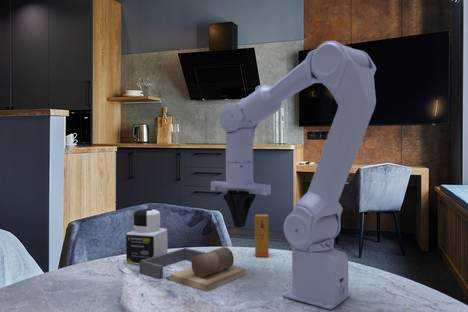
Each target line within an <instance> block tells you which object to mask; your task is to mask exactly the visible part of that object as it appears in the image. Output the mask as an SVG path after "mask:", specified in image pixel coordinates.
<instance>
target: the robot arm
mask: <svg viewBox="0 0 468 312" xmlns="http://www.w3.org/2000/svg"><path fill="white" fill-rule="evenodd" d="M376 71H377V67H376V65H375V64H374V61H373V60H372V58H371V57H370V55H369V54H368V53H367V52H365V51H364V50H361V49H356V48H352V47H351V46H347V45H343V44H342V43H340V42H338V41H335V40H327V41H324V42H323V43H320V44H319V46H317V47H316V49H313V50H311V51H309V52H308V53H307V55H306V57H305V59H304V60H302V62H301V63H299V64H298V65H297V66H295V67H294V68H293V69H292V70H290V71H289V72H288V73H287V74H286V75H284V76H283V77H282V78H280V79H279V80H278V81H277V82H276V83H274V84H273V85H272V86H270V85H268V84H265V85H264V84H263V85H258V86H256V87H255V88H254V89H255V91H253V92H251V94H249V95H248V96H246V97H242V98H241V99H240V100H239V102H237V103H226V105H225V106H224V107H223V108H222V109H221V111H220V114H219V124H220V127H221V129H222V131H225V181H222V180H214V181H210V191H215V192H217V191H220V192H226V193H225V194H223V197H222V198H223V199H224V201H225V203H226V205H227V206H228V209H229V211H230V214H231V218H232V221H233V225H234V228H239V229H240V228H244V227H246V222H247V219H248V214H249V211H250V208H251V207H252V205H253V202H254V201H255V198H256V195H261V196H269V195H271V194H272V185H271V184H265V183H257V182H254V139H255V136H256V134H255V133H256V130H257V128H258V126H259V123H261V122H263V121H264V120H265V119H267V118H269V117H271V116H272V115H274V114H275V113H277V112H279V110H281V108H282V102H283V101H285V100H287V99H288V98H291V97H292V96H293V95H295V94H298V93H299V92H301V91H302V90H304V89H306V88H308V87H310V86H312V85H314V84H323V86H324V87H326V88H327V89H328V90H329V91H330V92H331V96H332V97H333V99H334V100H335V102H336V104H337V110H336V113H335V116H334V118H333V121H332V124H331V126H330V129H329V131H328V135H327V138H326V140H325V143H324V146H323V149H322V152H321V154H320V157H319V159H318V162H317V165H316V168H315V171H314V174H313V176H312V179H311V182H310V185H309V186H308V190H307V192H306V193H305V194H304V195H303V196H301V198H299V199H298V201H297V202H296V203H295V205H294V208H293V210H292V211H291V212H290V213H289V214H288V215H287V216H286V217H285V220H284V221H283V234H284V236H285V239H286V241H287V243H288V244H289V246H290V248H291V254H292V255H291V256H292V257H291V259H292V261H291V262H292V263H291V264H292V265H291V269H292V270H291V273H292V274H291V275H292V276H291V277H292V278H291V281H292V283H291V288H290V289H288V290H286V291H285V292H283V293H282V296H283V297H284V298H287V299H290V300H291V299H292V300H294V301H298V302H302V303H305V304H309V305H313V306H317V307H321V308H323V309H328V310H333V309H334V308H335V307H337V306H338V305H340V304H341V303H343V302H344V300H346V299H347V298H348V297H350V296H351V293H350V292H349V259H348V255H347V253H345V252H344V251H341V250H337V249H336V248H334V244H335V238H337V237H338V235H339V234H340V232H341V216H342V214H343V213H342V212H343V210H344V209H343V205H341V204H340V202H339V200H340V198H341V195H342V193H343V190H344V187H345V185H346V183H347V181H348V180H347V179H348V178H349V175H350V173H351V170H352V167H353V165H354V162H355V160H356V157H357V155H358V152H359V149H360V146H361V144H362V142H363V140H364V136H365V133H366V131H367V129H368V126H369V124H370V121H371V118H372V115H373V114H374V111H375V107H376V104H377V97H376V89H375V88H376V87H375V77H374V76H375V73H376Z"/></svg>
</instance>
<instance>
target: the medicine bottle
mask: <svg viewBox="0 0 468 312" xmlns="http://www.w3.org/2000/svg"><path fill="white" fill-rule="evenodd" d="M133 229H134V230H131V231H128V232H126V234H125V237H126V238H125V239H126V241H125V242H126V244H125V246H126V250H125V251H126V256H125V257H126V263H127V264H129V265H130V264H131V265H139V261H141V260H144V259H148V258H151V257H155V256H158V255H162V254H165V253H168V229H167V228H163V227H161V212H160V211H159V210H158V209H153V208H144V209H143V208H142V209H138V210H136V211H135V212H134V213H133Z"/></svg>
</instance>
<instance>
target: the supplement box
mask: <svg viewBox="0 0 468 312" xmlns="http://www.w3.org/2000/svg"><path fill="white" fill-rule="evenodd" d="M254 243H255V245H254V246H255V247H254V248H255V249H254V252H255V253H254V255H255V257H257V258H258V257H260V258H261V257H262V258H263V257H264V258H268V257H269V252H270V251H269V247H270V246H269V215H268V214H267V213H266V214H255V216H254Z"/></svg>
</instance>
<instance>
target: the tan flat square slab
mask: <svg viewBox="0 0 468 312" xmlns="http://www.w3.org/2000/svg"><path fill="white" fill-rule="evenodd" d="M246 273H247V270H246V268H243V267H239V266H236V265H235V266H234V265H232V266H231V267H230V268H227V269H225V270H222V271H219V272H217V273H214V274H212V275H209V276H207V277H204V278H198V277H197V276H196V275H195V274H194V272H193V270H192V266H189V267H187V268H185V269H182V270H179V271H176V272H173V273H170V275H169V276H166V277H165V279H166V280H169V281H172V282H175V283H179V284H181V285H184V286H188V287H192V288H195V289H197V290H198V289H199V290H201V291H204V292H208V291H211V290H214V289H215V288H218V287H221V286H224V285H225V284H228V283H230V282H232V281H234V280H237V279H238V278H241V277H243V276H246V275H247V274H246Z"/></svg>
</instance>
